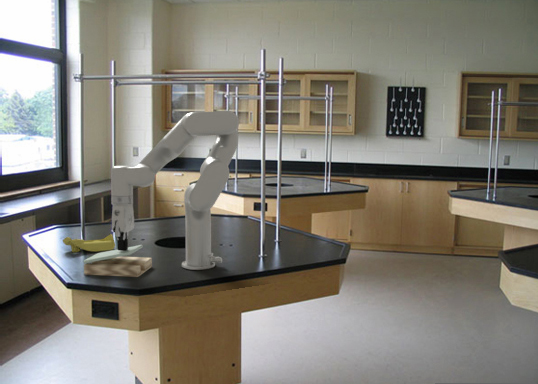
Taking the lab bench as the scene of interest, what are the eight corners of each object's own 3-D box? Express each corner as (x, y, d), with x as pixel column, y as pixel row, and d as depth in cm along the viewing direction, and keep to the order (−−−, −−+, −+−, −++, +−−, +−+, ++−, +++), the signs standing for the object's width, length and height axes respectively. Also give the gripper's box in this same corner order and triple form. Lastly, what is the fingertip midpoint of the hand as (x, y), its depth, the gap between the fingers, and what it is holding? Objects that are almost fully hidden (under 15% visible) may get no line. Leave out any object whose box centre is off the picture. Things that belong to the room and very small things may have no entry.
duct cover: (142, 247, 203) (142, 244, 203) (130, 254, 191) (130, 251, 191) (98, 255, 206) (98, 253, 206) (83, 263, 194) (83, 260, 194)
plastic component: (103, 239, 241) (113, 232, 235) (105, 255, 240) (116, 249, 233) (59, 242, 228) (68, 235, 221) (61, 259, 226) (71, 253, 219)
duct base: (151, 266, 205) (151, 257, 204) (138, 276, 191) (137, 267, 190) (101, 264, 207) (101, 255, 207) (84, 274, 193) (83, 264, 193)
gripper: (124, 203, 188) (124, 255, 190) (139, 197, 202) (140, 246, 205) (103, 202, 189) (104, 254, 191) (120, 197, 203) (121, 245, 205)
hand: (122, 249), depth 198 cm, fingers closed
